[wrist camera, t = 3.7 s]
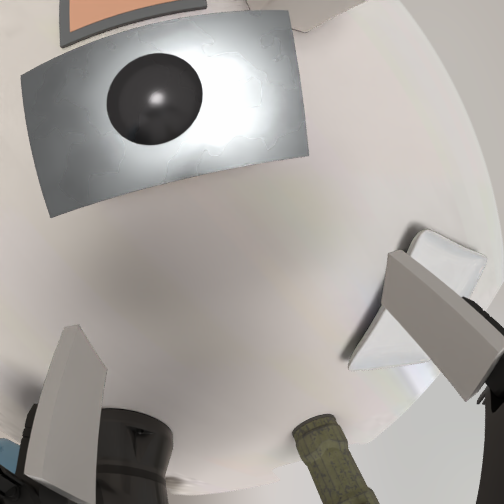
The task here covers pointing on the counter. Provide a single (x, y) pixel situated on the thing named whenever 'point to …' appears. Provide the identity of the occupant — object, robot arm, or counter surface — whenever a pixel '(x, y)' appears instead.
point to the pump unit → (164, 106)
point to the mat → (113, 15)
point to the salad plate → (389, 329)
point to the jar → (306, 10)
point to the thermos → (331, 462)
